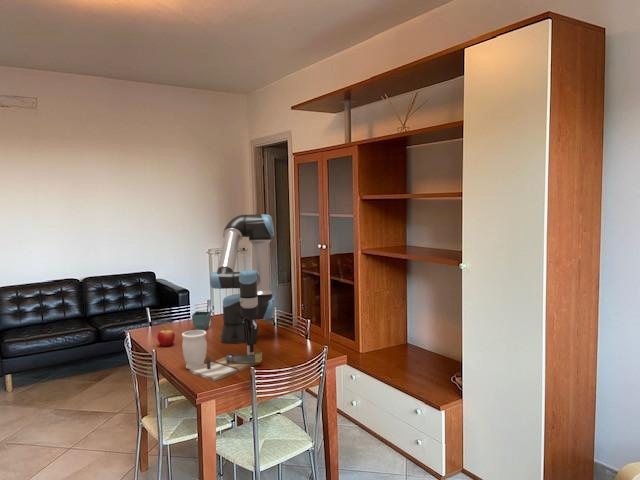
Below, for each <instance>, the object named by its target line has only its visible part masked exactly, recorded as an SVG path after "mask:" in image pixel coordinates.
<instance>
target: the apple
mask: <svg viewBox="0 0 640 480" xmlns="http://www.w3.org/2000/svg"><path fill="white" fill-rule="evenodd" d="M162 328H163V329H164V330H160V331H159V332H158V333H157V337H156V338H157V341H158V344H159V345H161V346H162V347H169V346H171V345H173V344H174V342H175V338H176V334H175V331H174V330H166V329H165V327H163V326H162Z"/></svg>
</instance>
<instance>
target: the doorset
mask: <svg viewBox="0 0 640 480" xmlns="http://www.w3.org/2000/svg"><path fill="white" fill-rule="evenodd" d="M234 354H235V355H238V354H236V353H234ZM258 364H260V362H226V356H225V357H223V358H219V359H217V360H214V361H211V356H206V363H205V365H202V366H199V367H197V368H194V369H189V373H190V374H193V375H196V376H199V377H202V378H204V379H208V380H210V381H213V382H216V381H218V380H220V379H223V378H225V377H229V376H231V375H234V374H237V373H238V372H241V371H245V370H246V369H249V368H251V366H252V367H254V366H256V365H258Z"/></svg>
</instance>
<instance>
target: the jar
mask: <svg viewBox="0 0 640 480" xmlns="http://www.w3.org/2000/svg"><path fill="white" fill-rule="evenodd" d="M206 335H207V331H205V330H196V329H193V330H187V331H183V332H182V333H181V337H182V343H181V345H182V354H183V359H184V361H185V364H186V365H185V368H186V369H188V370H191V369H194V368H197V367H199V366H202V365H205V364H206V363H205V360H206V359H207V350H208V342H207V338H206Z"/></svg>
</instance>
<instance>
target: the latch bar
mask: <svg viewBox="0 0 640 480" xmlns="http://www.w3.org/2000/svg"><path fill="white" fill-rule="evenodd" d="M235 354H236V353H228V354H226V355H225V357H226V362H259V363H261V362H262V360H263V352H262V351H256V352H254V355H247V354H237V355H235Z"/></svg>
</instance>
